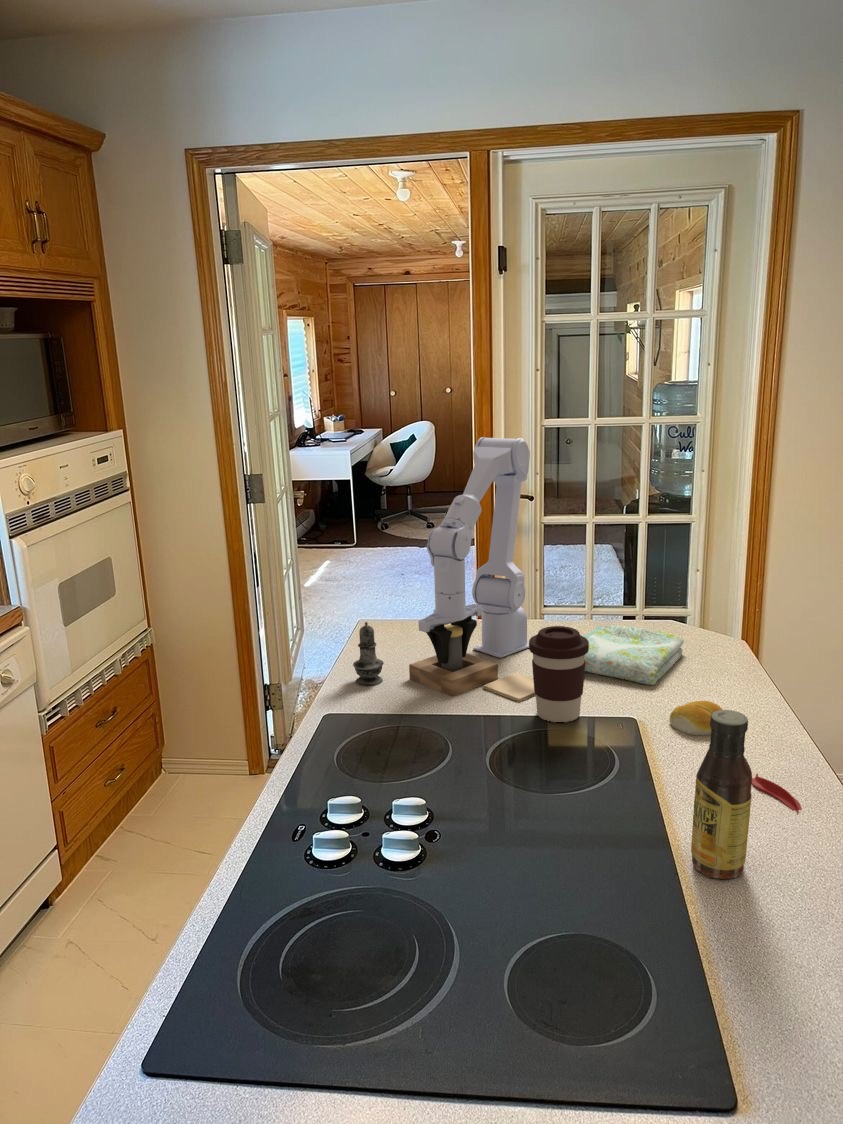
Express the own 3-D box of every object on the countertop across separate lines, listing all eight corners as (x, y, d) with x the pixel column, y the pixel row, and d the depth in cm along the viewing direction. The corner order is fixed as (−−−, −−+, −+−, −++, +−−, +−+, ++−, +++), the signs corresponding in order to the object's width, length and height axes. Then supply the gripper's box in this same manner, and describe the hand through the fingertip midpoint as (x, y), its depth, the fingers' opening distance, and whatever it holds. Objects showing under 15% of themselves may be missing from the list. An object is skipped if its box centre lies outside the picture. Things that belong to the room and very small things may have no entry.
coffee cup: (593, 708, 149) (595, 626, 145) (579, 731, 140) (580, 644, 137) (539, 700, 153) (539, 620, 149) (521, 722, 144) (521, 637, 141)
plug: (452, 672, 167) (451, 623, 165) (468, 678, 164) (467, 628, 161) (436, 678, 164) (434, 629, 162) (452, 684, 161) (450, 634, 159)
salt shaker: (386, 675, 167) (383, 616, 164) (382, 686, 162) (379, 626, 159) (356, 675, 168) (353, 616, 165) (351, 686, 162) (348, 626, 159)
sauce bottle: (682, 854, 105) (689, 704, 101) (731, 850, 106) (740, 701, 101) (703, 886, 99) (712, 728, 94) (755, 882, 100) (766, 724, 95)
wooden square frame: (454, 663, 172) (454, 649, 172) (497, 678, 164) (497, 663, 163) (409, 679, 165) (409, 664, 164) (452, 696, 156) (452, 680, 155)
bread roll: (736, 727, 140) (738, 704, 139) (700, 741, 136) (701, 718, 135) (696, 710, 147) (697, 688, 146) (660, 724, 142) (660, 701, 141)
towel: (686, 654, 174) (687, 630, 173) (653, 690, 157) (654, 663, 156) (601, 641, 184) (601, 618, 183) (561, 673, 166) (561, 648, 165)
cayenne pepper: (743, 775, 125) (743, 763, 125) (775, 774, 125) (776, 762, 124) (771, 819, 113) (772, 806, 113) (807, 818, 113) (808, 805, 113)
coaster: (516, 675, 165) (516, 672, 165) (552, 687, 158) (552, 684, 158) (483, 688, 159) (483, 685, 159) (519, 701, 152) (519, 698, 152)
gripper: (462, 579, 167) (464, 644, 171) (406, 594, 158) (409, 663, 161) (488, 585, 162) (489, 653, 165) (432, 601, 153) (434, 673, 156)
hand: (451, 659), depth 163 cm, fingers closed on plug, 4 cm apart
